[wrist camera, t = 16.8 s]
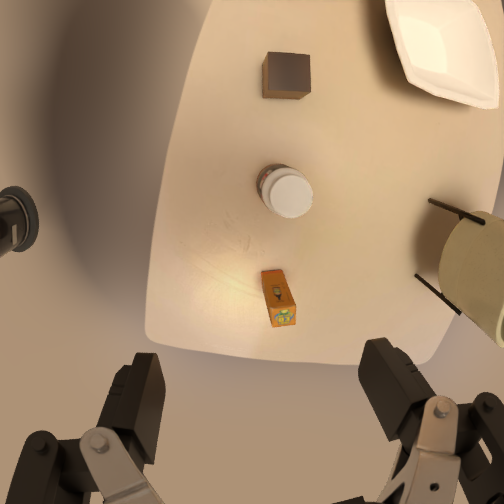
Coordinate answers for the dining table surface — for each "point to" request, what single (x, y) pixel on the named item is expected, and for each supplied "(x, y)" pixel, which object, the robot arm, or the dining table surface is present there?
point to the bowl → (446, 49)
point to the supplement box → (278, 299)
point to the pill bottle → (284, 190)
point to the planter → (474, 270)
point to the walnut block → (286, 75)
